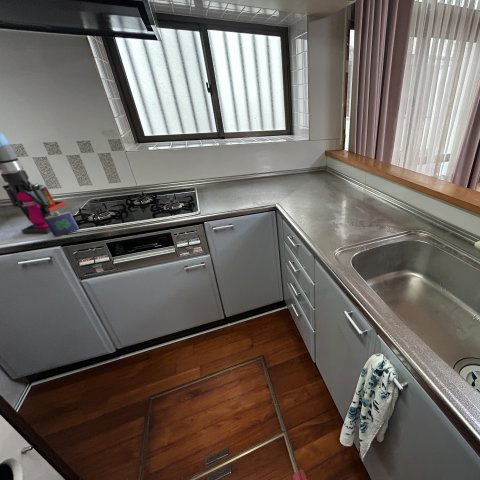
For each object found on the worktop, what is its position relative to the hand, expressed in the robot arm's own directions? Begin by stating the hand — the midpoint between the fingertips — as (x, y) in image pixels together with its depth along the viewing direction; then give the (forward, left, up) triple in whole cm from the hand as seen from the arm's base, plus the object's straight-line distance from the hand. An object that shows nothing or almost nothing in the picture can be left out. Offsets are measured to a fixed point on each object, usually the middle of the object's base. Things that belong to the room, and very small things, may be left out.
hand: (41, 219), depth 125 cm
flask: (+14, -5, -5) cm, 16 cm away
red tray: (-20, +25, -4) cm, 32 cm away
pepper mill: (0, 0, -4) cm, 4 cm away
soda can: (-20, +25, -4) cm, 32 cm away
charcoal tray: (0, 0, -4) cm, 4 cm away
